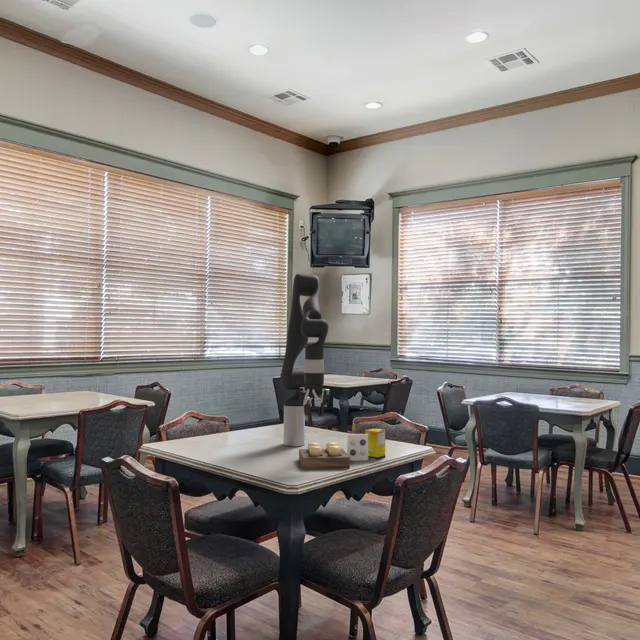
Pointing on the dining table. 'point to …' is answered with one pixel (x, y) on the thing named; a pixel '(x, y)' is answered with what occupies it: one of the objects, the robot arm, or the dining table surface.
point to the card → (357, 446)
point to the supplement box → (376, 443)
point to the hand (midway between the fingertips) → (313, 415)
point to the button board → (323, 460)
